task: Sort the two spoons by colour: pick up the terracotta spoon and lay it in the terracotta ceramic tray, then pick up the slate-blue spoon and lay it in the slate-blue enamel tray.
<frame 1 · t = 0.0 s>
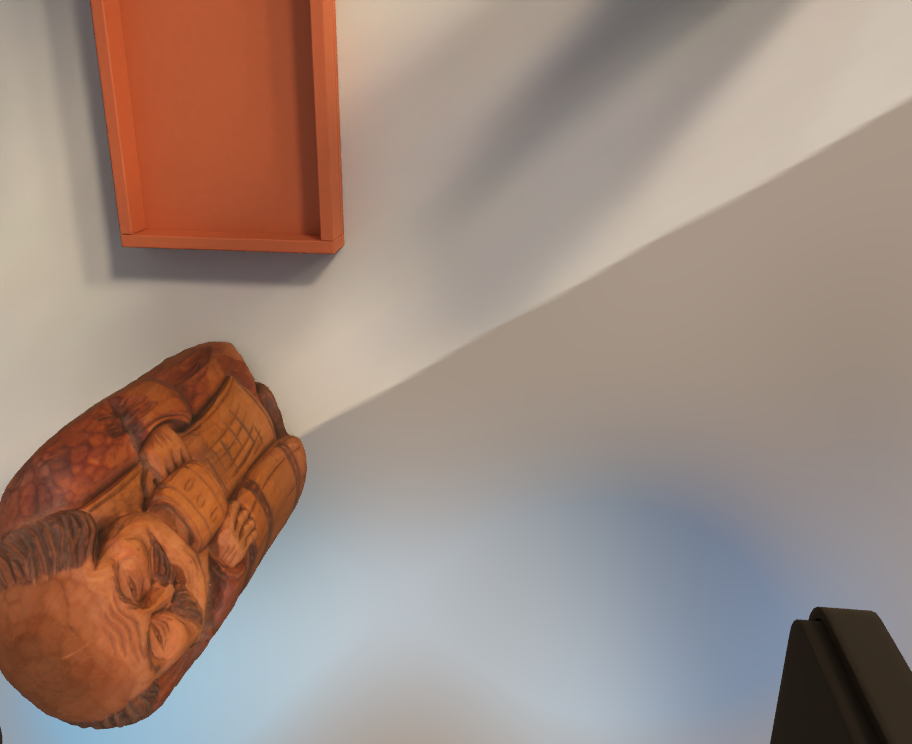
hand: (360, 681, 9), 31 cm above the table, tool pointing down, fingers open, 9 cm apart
terracotta tray: (222, 4, 37), on the table
wooden figurine: (240, 434, 44), on the table
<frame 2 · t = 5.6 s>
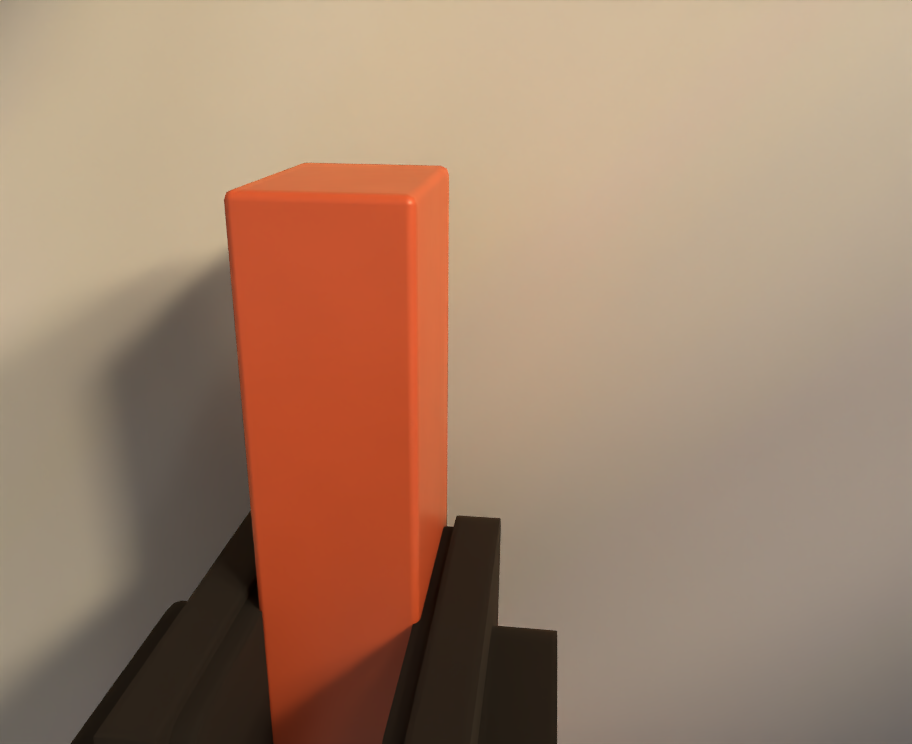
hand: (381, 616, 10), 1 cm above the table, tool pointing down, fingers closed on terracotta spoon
terracotta spoon: (384, 607, 11), point 1 cm above the table, touching gripper
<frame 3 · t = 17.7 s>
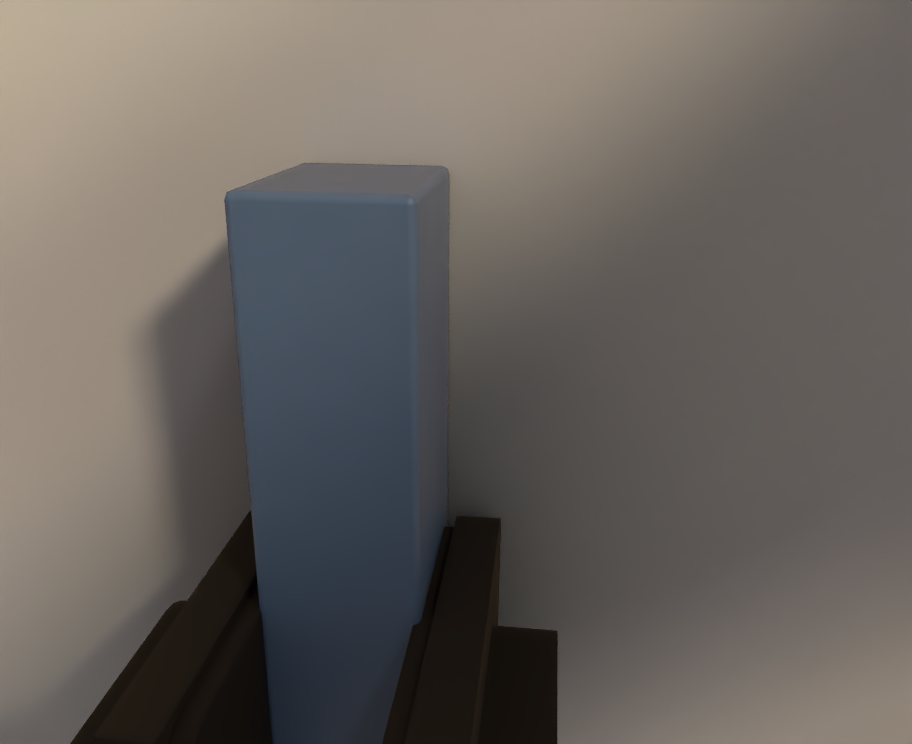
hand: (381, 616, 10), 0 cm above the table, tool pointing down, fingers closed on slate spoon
slate spoon: (384, 608, 11), on the table, touching gripper
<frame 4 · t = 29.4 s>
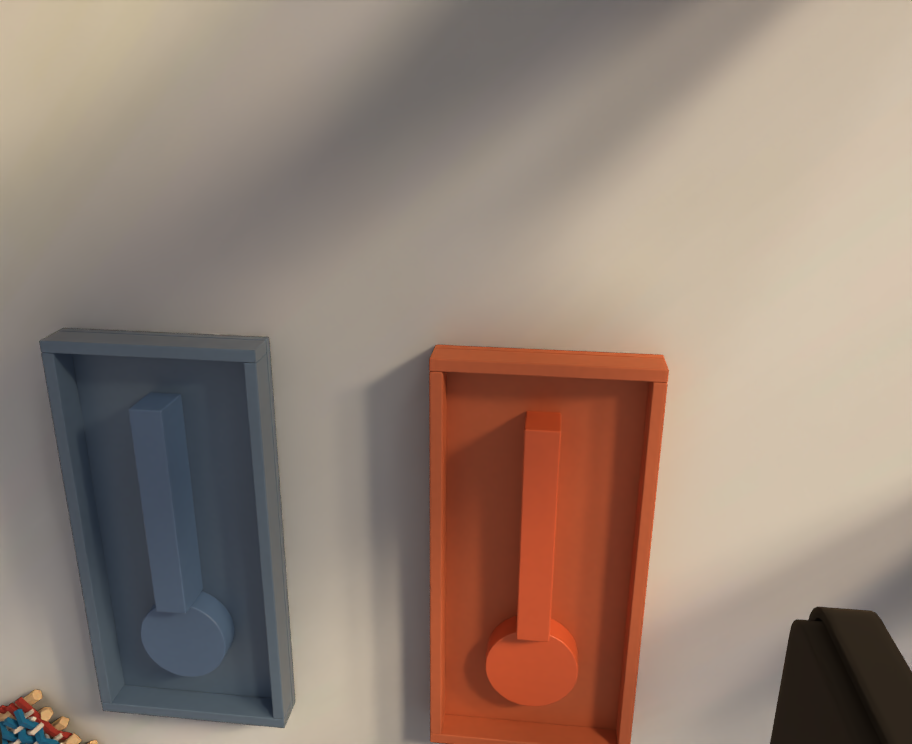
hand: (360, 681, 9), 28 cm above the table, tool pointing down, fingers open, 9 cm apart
slate spoon: (177, 494, 42), resting on slate tray
terracotta tray: (537, 553, 41), on the table
slate tray: (187, 528, 43), on the table
terracotta spoon: (538, 517, 40), resting on terracotta tray
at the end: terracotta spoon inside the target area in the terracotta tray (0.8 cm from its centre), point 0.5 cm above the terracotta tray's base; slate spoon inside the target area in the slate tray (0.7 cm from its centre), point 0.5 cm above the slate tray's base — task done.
